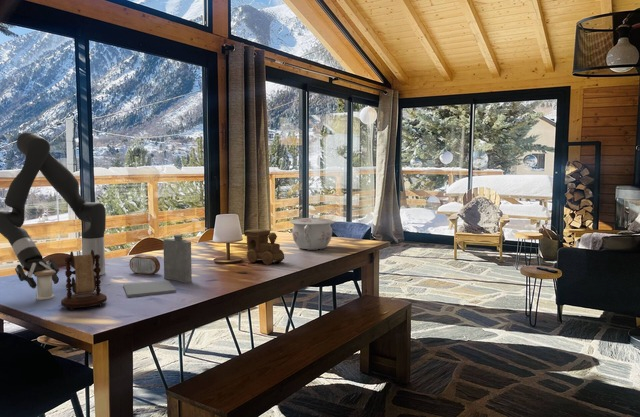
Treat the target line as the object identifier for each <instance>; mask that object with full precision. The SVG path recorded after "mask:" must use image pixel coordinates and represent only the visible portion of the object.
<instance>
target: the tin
mask: <svg viewBox="0 0 640 417" xmlns="http://www.w3.org/2000/svg"><path fill="white" fill-rule="evenodd" d="M129 268H130V270H131V272H133V273H134V274H141V275H143V274H144V275H155V274H157V273H158V272H160V270H161V264H160V261H159V259H158V258H157V257H156V256H152V255H142V254H138V255H135V256H133V257H131V259H129Z"/></svg>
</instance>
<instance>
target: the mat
mask: <svg viewBox="0 0 640 417" xmlns="http://www.w3.org/2000/svg"><path fill="white" fill-rule="evenodd" d="M122 286H123V290H124V292H125V294H126V298H135V297H144V296H145V297H146V296H153V295H154V296H155V295H163V294H171V293H176V292H177V290H176V288H175V287H174V286H173V284H172V283H171V282H170V280H169V279H166V280H157V281H156V280H155V281H148V282H137V283H135V282H134V283H126V284H123V285H122Z"/></svg>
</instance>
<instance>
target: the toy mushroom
mask: <svg viewBox="0 0 640 417" xmlns="http://www.w3.org/2000/svg"><path fill="white" fill-rule="evenodd" d="M52 275H54V271H53V270H47V269H45V270H43V271H37V272H34V274H33V276H34V277H36V284H37V286H36V289H37V290H36V291H37V292H36V293H37V295H36V297H35V299H36V300H38V301H44V300H46V301H47V300H51V299H54V298H55V293H53V291H54V290H53V280H52Z"/></svg>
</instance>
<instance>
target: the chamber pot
mask: <svg viewBox="0 0 640 417" xmlns="http://www.w3.org/2000/svg"><path fill="white" fill-rule="evenodd" d="M289 223H290V224H293V228H292V239H293V241H294V243H295V245H296V246H297V247H298V248H300V249H301V250H304V249H307V250H306V251H319V250H318V249H320V250H323V249H325V248H327V247H328V246H329V244H330V242H331V240H332V236H333V228H332V226H331V225H332V224H335V221H334V220H332V219H328V218H322V217H321V218H320V217H314V215H313V214H311V217H302V218H296V219H293V220H290V222H289Z"/></svg>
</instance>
